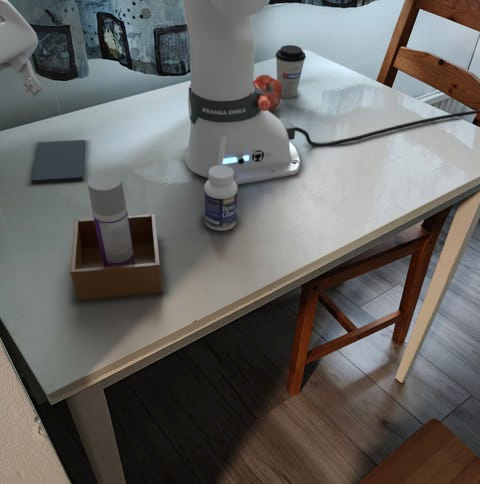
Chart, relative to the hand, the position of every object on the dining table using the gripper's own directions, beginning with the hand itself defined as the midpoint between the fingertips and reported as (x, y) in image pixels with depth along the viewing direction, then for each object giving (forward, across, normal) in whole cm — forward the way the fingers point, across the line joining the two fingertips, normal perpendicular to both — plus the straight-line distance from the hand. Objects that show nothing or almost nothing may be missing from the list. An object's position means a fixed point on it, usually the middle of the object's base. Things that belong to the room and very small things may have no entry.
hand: (13, 106), depth 67 cm
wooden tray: (+25, 0, +7) cm, 26 cm away
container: (+25, 0, +7) cm, 26 cm away
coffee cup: (+25, +71, +7) cm, 76 cm away
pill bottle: (+31, +18, +1) cm, 36 cm away
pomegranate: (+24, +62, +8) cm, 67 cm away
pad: (+6, +21, +27) cm, 35 cm away
